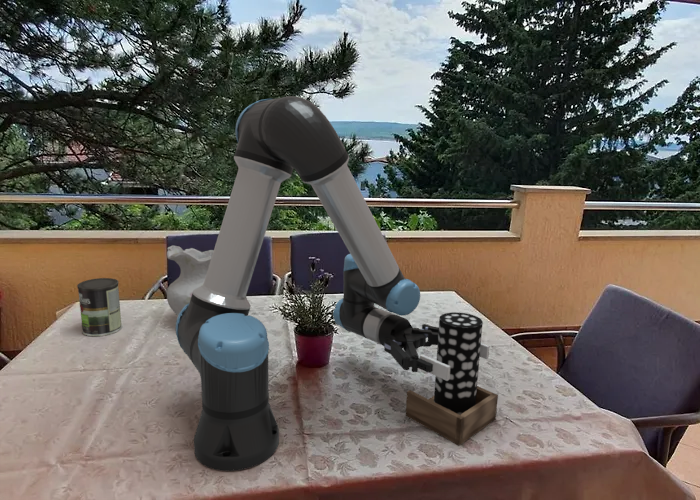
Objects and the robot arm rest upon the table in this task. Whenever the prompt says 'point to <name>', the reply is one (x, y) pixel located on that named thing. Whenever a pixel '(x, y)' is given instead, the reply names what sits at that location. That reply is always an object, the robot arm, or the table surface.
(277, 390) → the table surface
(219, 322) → the robot arm
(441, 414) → the tray
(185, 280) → the ceramic pitcher
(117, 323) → the coffee can
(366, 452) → the table surface
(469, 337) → the white-spotted black cylinder
